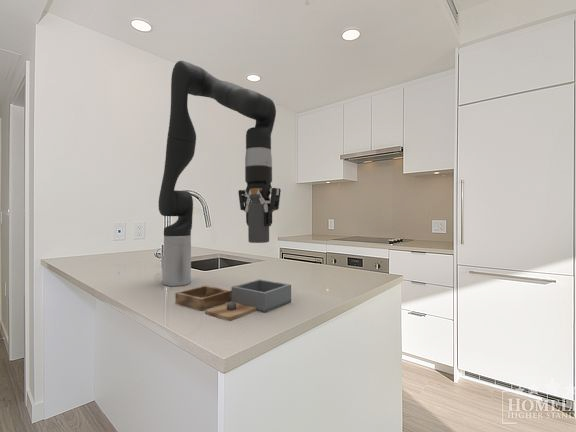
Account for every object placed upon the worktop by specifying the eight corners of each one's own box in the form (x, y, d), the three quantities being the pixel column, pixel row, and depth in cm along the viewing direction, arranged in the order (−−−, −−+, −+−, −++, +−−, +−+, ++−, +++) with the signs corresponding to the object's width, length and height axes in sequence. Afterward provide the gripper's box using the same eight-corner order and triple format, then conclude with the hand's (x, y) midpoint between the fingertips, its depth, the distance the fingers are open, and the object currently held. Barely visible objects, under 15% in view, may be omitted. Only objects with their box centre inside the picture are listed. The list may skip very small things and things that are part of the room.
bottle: (265, 243, 86) (265, 187, 86) (245, 242, 87) (245, 188, 87) (271, 241, 91) (271, 189, 91) (252, 240, 93) (252, 189, 93)
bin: (231, 304, 89) (231, 286, 89) (259, 295, 99) (259, 279, 98) (264, 312, 82) (264, 293, 82) (291, 301, 92) (291, 284, 92)
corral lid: (204, 313, 81) (204, 305, 81) (232, 304, 89) (232, 297, 89) (229, 320, 76) (229, 312, 76) (257, 310, 84) (257, 302, 84)
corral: (175, 303, 89) (175, 293, 89) (206, 295, 98) (206, 285, 98) (201, 310, 83) (201, 299, 83) (231, 301, 92) (231, 290, 92)
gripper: (230, 166, 90) (231, 226, 90) (270, 161, 82) (270, 227, 82) (248, 169, 96) (249, 225, 96) (287, 165, 88) (287, 226, 88)
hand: (259, 225), depth 89 cm, fingers closed on bottle, 6 cm apart
